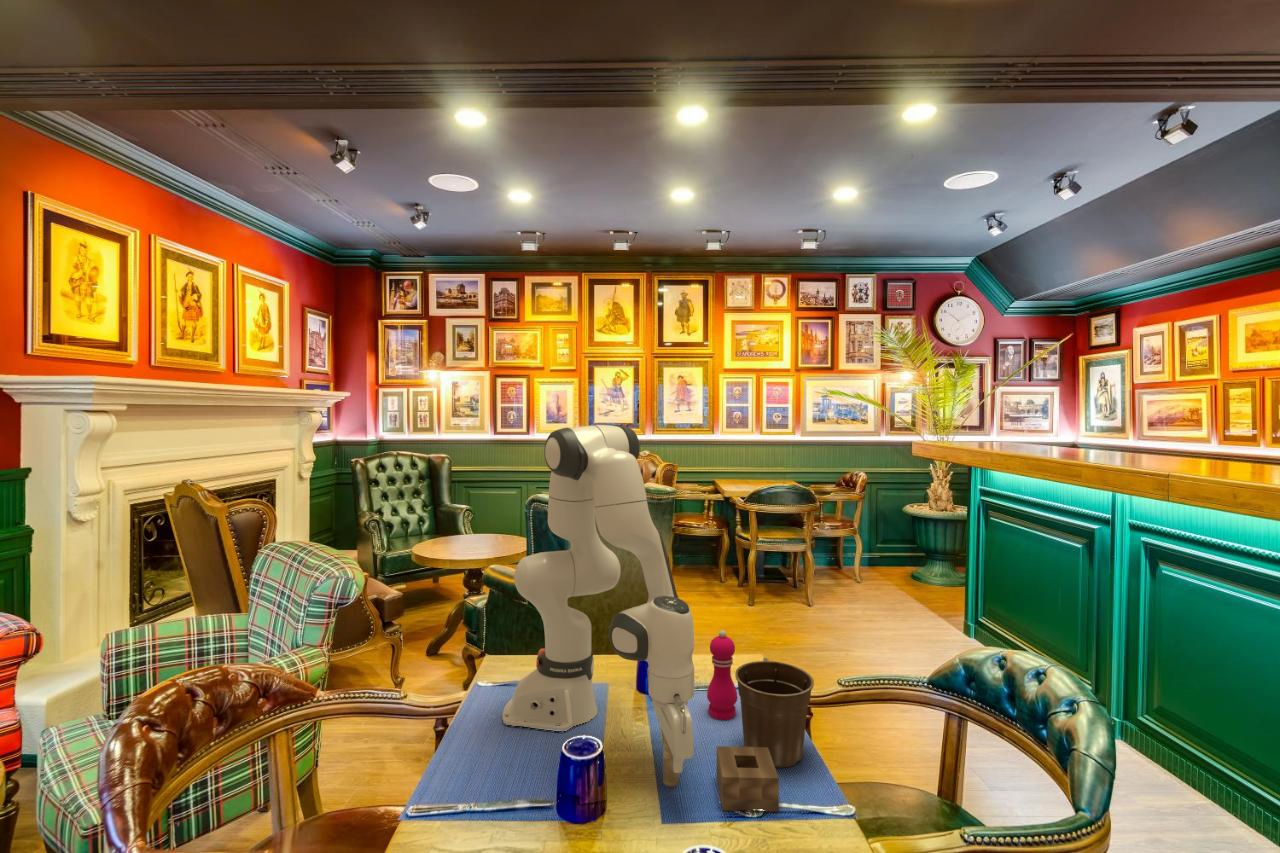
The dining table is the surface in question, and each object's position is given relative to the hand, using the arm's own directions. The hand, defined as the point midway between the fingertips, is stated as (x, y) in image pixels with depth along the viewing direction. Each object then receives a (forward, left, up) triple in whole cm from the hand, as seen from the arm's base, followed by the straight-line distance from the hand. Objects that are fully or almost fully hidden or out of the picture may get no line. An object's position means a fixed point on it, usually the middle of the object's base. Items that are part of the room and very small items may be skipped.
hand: (671, 756), depth 111 cm
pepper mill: (+13, +28, -6) cm, 31 cm away
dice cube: (-15, -3, -6) cm, 17 cm away
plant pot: (+22, +12, -6) cm, 25 cm away
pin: (0, +1, -5) cm, 5 cm away
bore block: (+14, -2, -5) cm, 15 cm away
